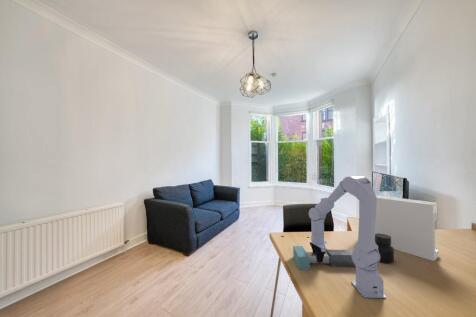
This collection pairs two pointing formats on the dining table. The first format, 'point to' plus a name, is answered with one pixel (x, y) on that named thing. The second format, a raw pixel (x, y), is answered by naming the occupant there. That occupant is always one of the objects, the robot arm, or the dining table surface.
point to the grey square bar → (314, 259)
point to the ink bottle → (384, 248)
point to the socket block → (301, 258)
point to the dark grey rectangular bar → (341, 258)
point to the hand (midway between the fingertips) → (318, 260)
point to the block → (408, 225)
